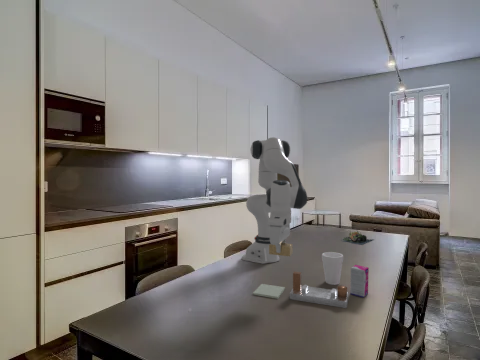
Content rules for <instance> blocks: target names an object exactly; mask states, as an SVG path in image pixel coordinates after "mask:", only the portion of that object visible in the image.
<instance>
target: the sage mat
mask: <svg viewBox="0 0 480 360" xmlns="http://www.w3.org/2000/svg"><path fill="white" fill-rule="evenodd" d="M285 290H286V286H278V285H270V284H267V283H266V284H265V283H261V284H259V286H258V287H257V288H256V289H255V290H254V291H253V292H252V295H253V296H260V297H266V298H270V299H271V298H272V299H277V300H278V299H279V298H280V297H281V296H282V294H283V292H284V291H285Z"/></svg>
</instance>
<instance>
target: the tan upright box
mask: <svg viewBox="0 0 480 360" xmlns="http://www.w3.org/2000/svg"><path fill="white" fill-rule="evenodd" d="M293 245H294V244H293V243H287V242H286V243H281V252H280V253H277V252H276V246H275V245H272V244H270V245H269V254H273V255H278V256H284V257H291V256H292V255H293V253H294V252H293V250H294V247H293Z"/></svg>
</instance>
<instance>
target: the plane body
mask: <svg viewBox="0 0 480 360" xmlns="http://www.w3.org/2000/svg"><path fill="white" fill-rule="evenodd" d="M336 286H337V288H331V289H329V288H323V287H322V288H321V287H317V286H316V287H315V286H309V285H308V284H304V285H302V272H301V271H293V272H292V289H291V291H290V292H289V300H293V301H298V302H299V301H301V302H307V303H311V304H312V303H313V304H319V305H323V306H325V305H326V306H329V307H337V308H344V309H347V308H348V303H349V292H348V287H347V286H345V285H340V284H339V285H336Z"/></svg>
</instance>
